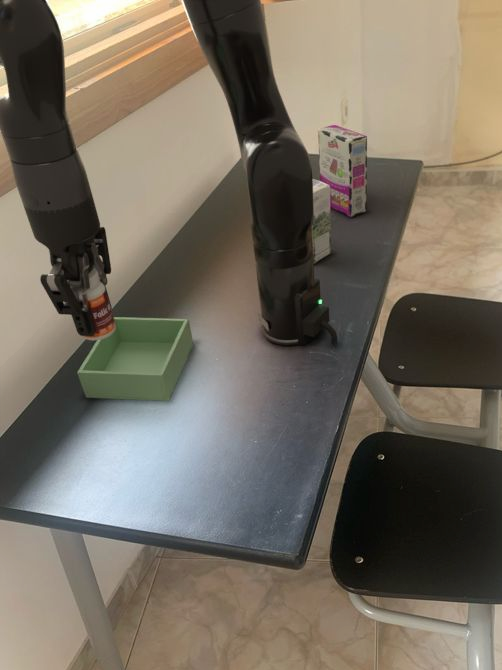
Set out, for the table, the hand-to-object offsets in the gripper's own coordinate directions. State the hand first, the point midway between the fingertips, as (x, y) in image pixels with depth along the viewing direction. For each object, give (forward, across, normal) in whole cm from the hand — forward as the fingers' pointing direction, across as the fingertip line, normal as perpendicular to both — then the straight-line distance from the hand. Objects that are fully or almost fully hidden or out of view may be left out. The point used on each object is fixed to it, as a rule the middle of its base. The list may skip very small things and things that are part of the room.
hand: (96, 322), depth 85 cm
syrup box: (+17, +52, -20) cm, 59 cm away
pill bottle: (+2, 0, 0) cm, 2 cm away
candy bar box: (+17, +76, -24) cm, 81 cm away
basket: (+18, +13, +2) cm, 22 cm away
